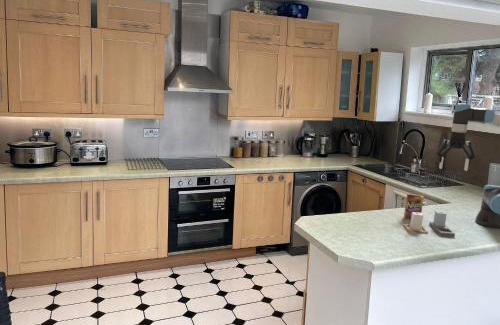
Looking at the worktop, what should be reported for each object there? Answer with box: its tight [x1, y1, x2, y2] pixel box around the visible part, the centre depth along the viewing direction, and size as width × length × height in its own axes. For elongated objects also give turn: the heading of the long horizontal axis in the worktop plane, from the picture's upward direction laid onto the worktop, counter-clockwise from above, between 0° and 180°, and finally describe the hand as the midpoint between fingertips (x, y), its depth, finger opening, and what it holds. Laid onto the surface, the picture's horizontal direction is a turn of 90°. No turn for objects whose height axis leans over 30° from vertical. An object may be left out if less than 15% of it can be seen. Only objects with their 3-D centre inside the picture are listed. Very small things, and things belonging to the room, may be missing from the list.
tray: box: [402, 223, 429, 235], centre depth 221 cm, size 10×10×2 cm
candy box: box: [403, 192, 425, 220], centre depth 240 cm, size 9×4×15 cm, turn 60°
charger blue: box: [432, 210, 447, 227], centre depth 225 cm, size 4×4×9 cm
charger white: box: [409, 212, 424, 231], centre depth 220 cm, size 4×4×9 cm
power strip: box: [428, 221, 456, 238], centre depth 225 cm, size 25×7×4 cm, turn 174°
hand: (453, 169), depth 233 cm, fingers open, 13 cm apart
